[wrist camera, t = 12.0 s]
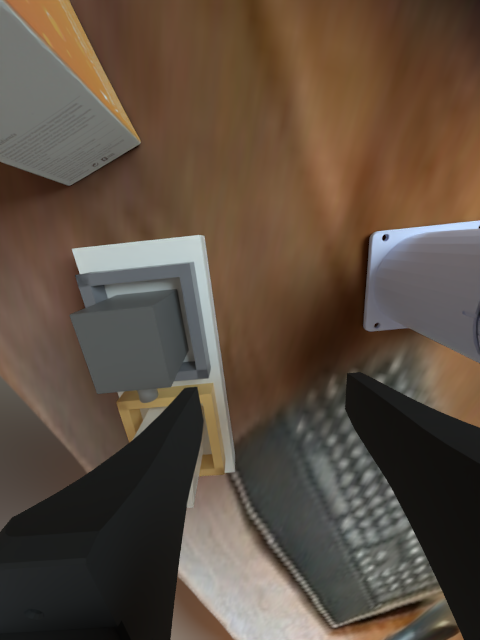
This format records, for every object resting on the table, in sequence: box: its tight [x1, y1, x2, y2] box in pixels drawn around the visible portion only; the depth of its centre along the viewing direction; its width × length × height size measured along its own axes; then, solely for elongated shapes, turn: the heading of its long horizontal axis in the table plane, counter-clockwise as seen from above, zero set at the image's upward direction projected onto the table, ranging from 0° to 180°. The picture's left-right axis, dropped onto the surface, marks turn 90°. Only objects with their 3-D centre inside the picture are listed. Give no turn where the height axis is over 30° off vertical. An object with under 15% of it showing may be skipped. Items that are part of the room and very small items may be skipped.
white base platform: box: [72, 235, 235, 476], centre depth 19 cm, size 9×22×4 cm, turn 6°
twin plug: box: [70, 289, 189, 403], centre depth 16 cm, size 4×7×5 cm
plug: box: [133, 406, 204, 508], centre depth 19 cm, size 4×7×5 cm
